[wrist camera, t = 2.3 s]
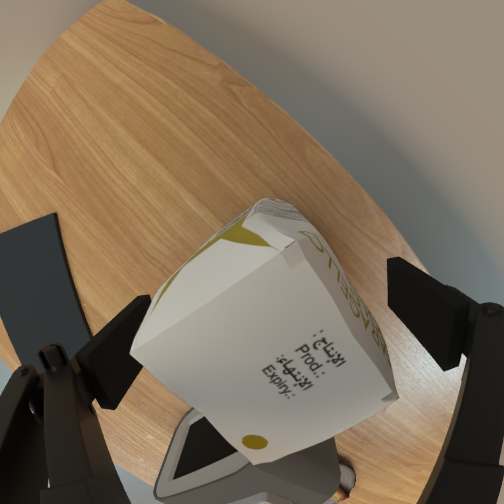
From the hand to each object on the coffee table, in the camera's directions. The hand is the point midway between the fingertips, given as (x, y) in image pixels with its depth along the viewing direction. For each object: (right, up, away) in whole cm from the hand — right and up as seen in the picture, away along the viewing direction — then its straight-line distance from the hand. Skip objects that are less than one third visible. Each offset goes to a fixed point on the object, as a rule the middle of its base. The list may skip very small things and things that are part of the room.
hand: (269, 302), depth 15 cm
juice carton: (+1, +3, +12) cm, 12 cm away
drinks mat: (-31, -6, +16) cm, 35 cm away
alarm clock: (-1, -17, +17) cm, 24 cm away
